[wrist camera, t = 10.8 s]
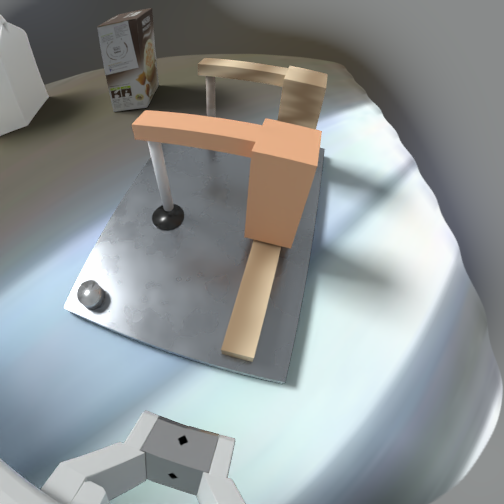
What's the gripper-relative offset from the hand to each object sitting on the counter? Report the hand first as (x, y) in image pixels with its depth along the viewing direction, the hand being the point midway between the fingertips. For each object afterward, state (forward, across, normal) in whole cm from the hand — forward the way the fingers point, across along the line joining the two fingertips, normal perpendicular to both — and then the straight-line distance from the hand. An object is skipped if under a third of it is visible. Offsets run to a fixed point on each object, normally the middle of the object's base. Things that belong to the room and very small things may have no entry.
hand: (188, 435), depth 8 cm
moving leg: (+20, +4, -4) cm, 21 cm away
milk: (+35, +57, -14) cm, 68 cm away
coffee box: (+39, +27, -18) cm, 51 cm away
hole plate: (+23, +5, -3) cm, 23 cm away
